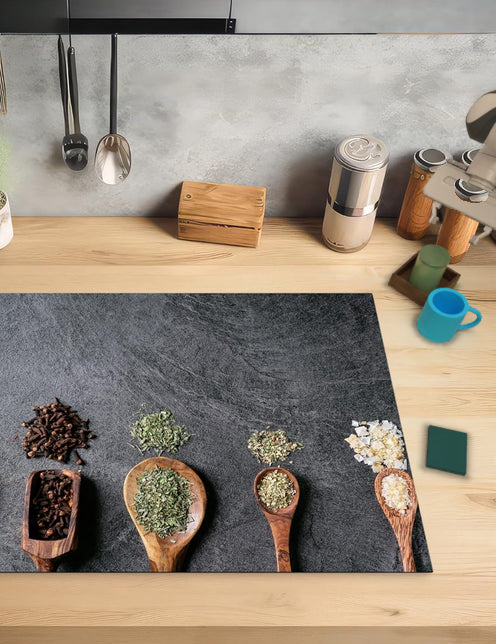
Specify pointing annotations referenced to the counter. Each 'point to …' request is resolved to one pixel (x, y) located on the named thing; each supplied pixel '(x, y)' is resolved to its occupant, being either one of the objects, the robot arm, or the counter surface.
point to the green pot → (429, 268)
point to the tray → (415, 294)
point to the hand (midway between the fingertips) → (451, 234)
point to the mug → (445, 315)
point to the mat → (447, 450)
